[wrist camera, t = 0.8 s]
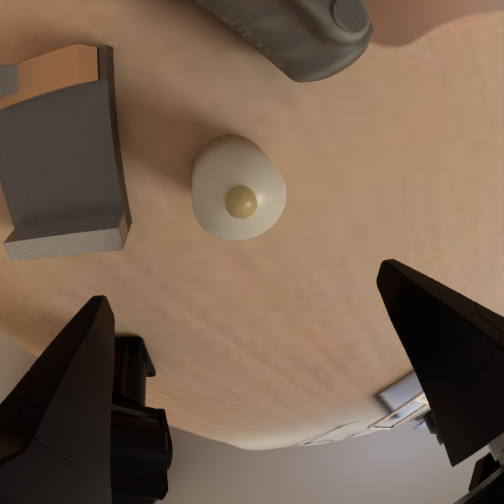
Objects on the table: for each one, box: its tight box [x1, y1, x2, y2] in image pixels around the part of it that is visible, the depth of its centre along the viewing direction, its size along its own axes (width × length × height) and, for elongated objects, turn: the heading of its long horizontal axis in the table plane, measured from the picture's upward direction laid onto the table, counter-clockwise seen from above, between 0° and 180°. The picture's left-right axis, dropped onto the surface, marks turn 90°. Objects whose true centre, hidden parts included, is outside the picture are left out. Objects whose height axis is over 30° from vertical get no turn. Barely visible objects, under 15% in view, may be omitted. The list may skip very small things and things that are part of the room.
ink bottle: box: [424, 411, 444, 445], centre depth 65 cm, size 10×9×12 cm
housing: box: [192, 135, 286, 241], centre depth 17 cm, size 5×5×5 cm
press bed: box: [0, 46, 132, 262], centre depth 14 cm, size 12×9×4 cm
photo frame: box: [368, 391, 429, 429], centre depth 59 cm, size 15×1×18 cm
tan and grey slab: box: [0, 44, 98, 110], centre depth 9 cm, size 2×8×6 cm, turn 89°
